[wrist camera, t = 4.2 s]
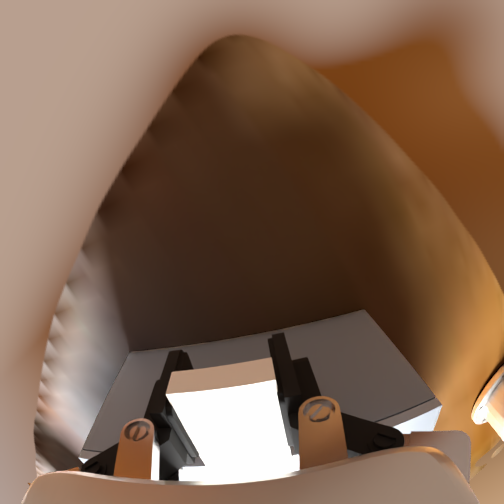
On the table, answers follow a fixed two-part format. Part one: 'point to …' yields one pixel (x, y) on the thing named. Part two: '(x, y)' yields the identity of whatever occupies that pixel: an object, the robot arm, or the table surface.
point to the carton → (300, 345)
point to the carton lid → (247, 421)
